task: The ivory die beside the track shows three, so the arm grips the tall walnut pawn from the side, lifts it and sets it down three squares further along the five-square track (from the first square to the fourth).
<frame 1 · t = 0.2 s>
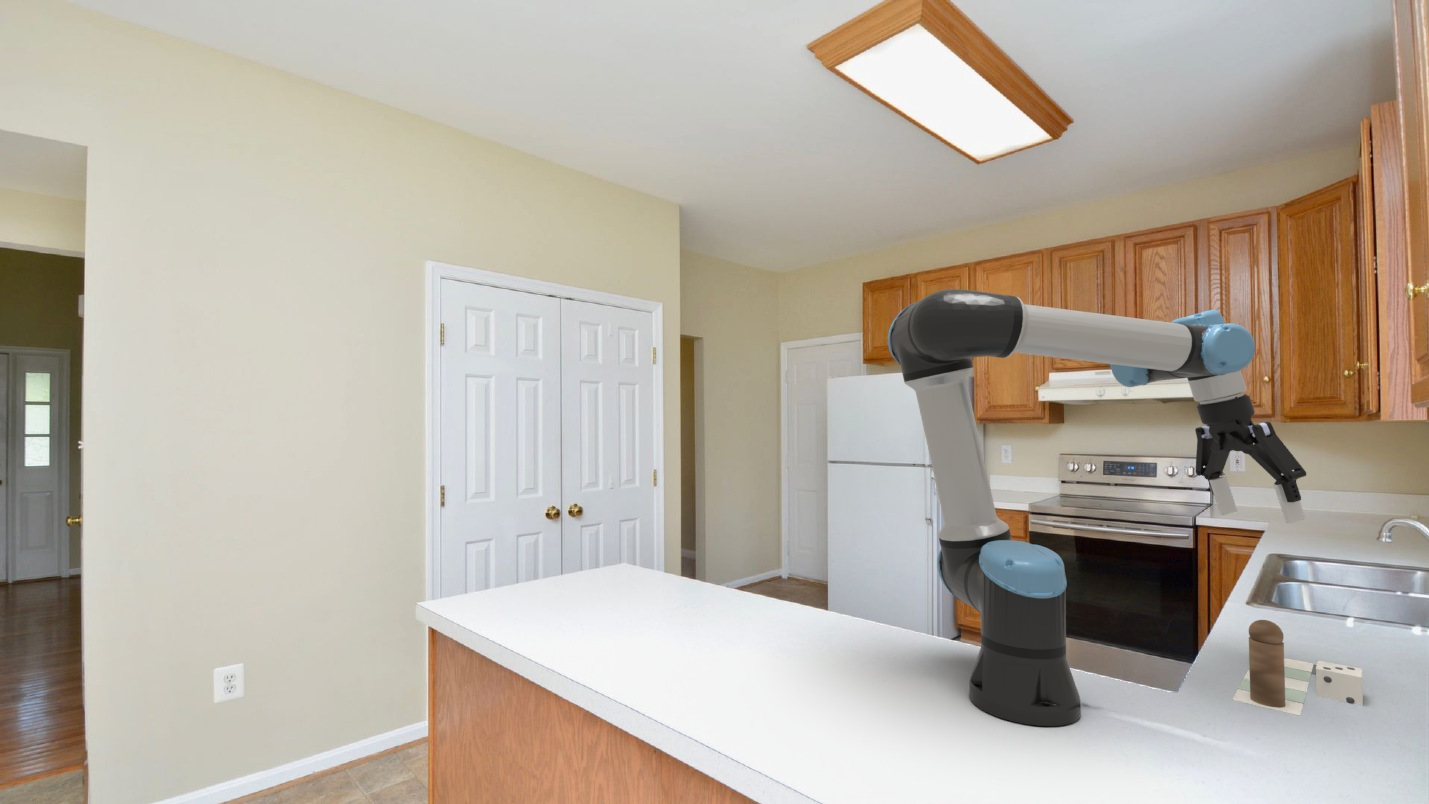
hand: (1260, 516, 113), 26 cm above the counter, tool tilted 15°, fingers open, 13 cm apart
pawn: (1267, 701, 97), point 1 cm above the counter, touching board
board: (1276, 685, 106), on the counter
die: (1340, 701, 100), on the counter
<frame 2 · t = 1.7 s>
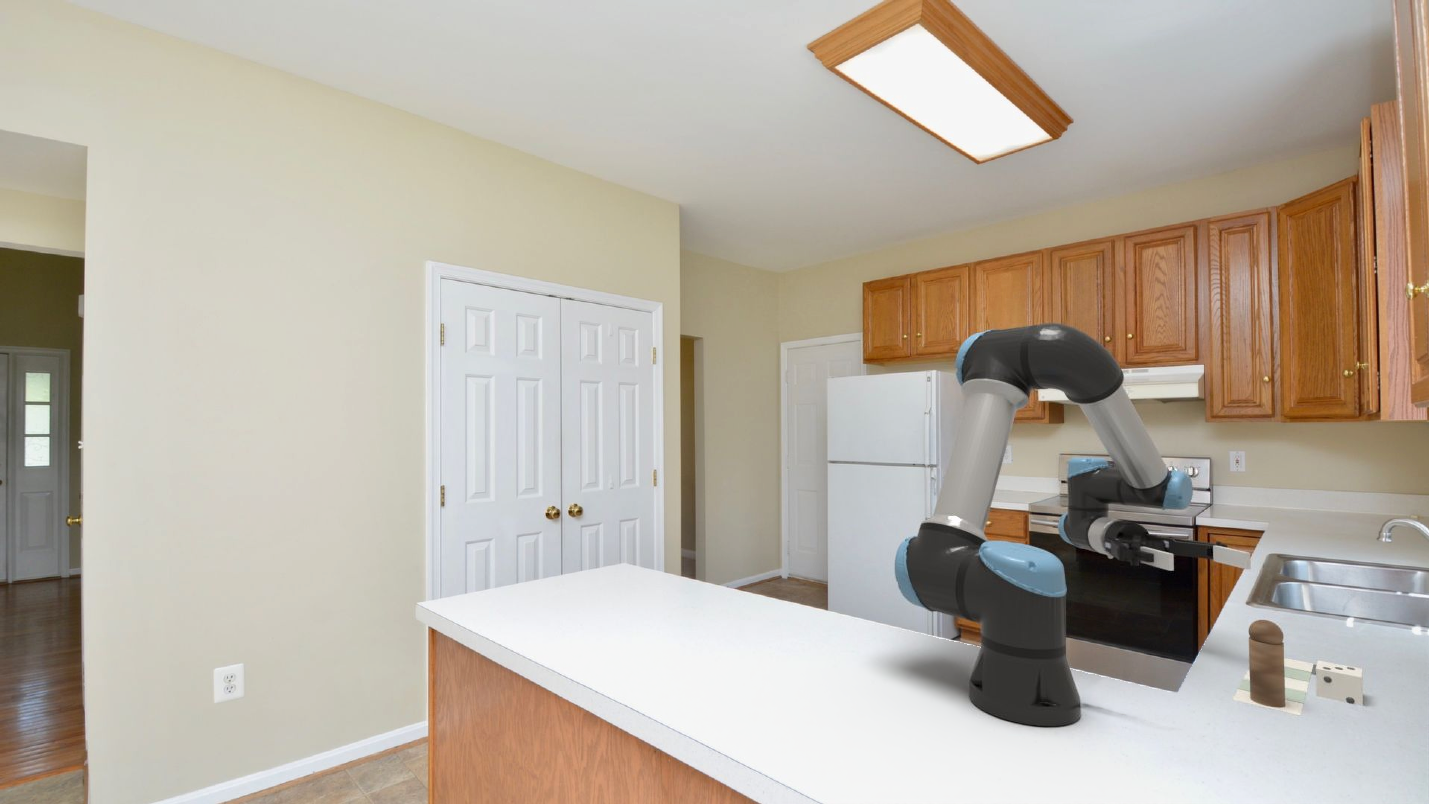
hand: (1210, 561, 108), 20 cm above the counter, tool horizontal, fingers open, 13 cm apart
nothing on the counter moved.
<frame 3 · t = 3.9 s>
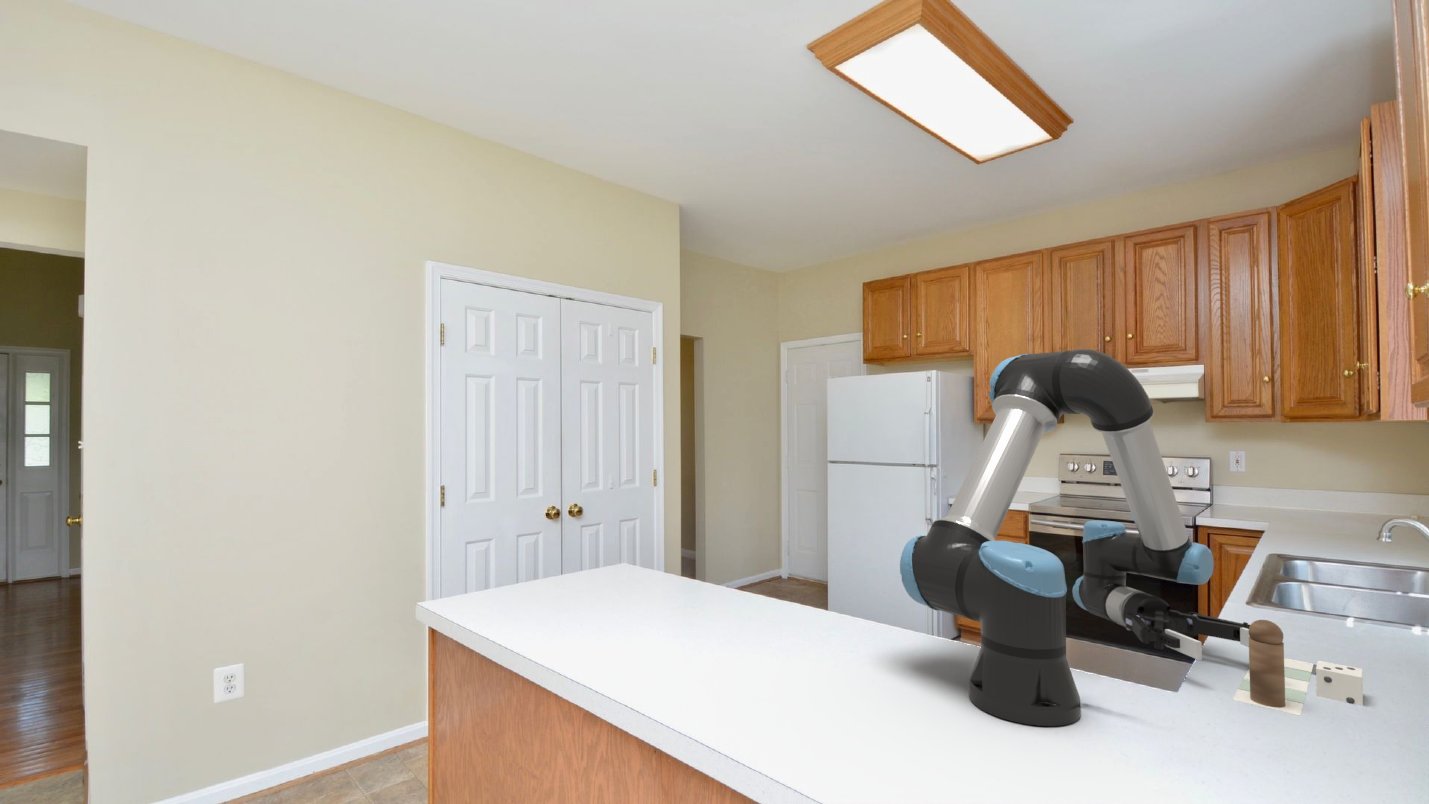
hand: (1239, 649, 103), 7 cm above the counter, tool horizontal, fingers open, 13 cm apart
nothing on the counter moved.
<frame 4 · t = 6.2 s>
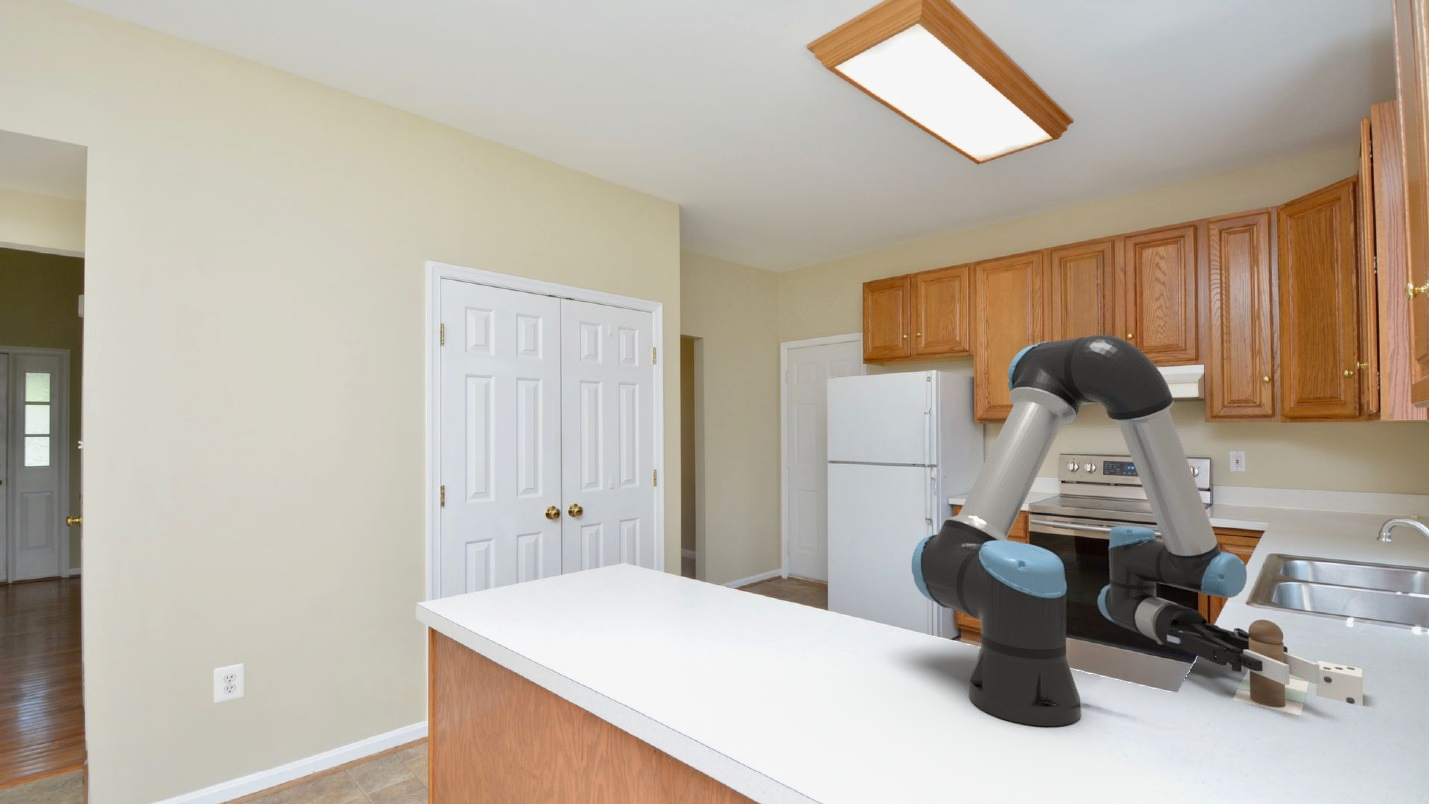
hand: (1301, 674, 92), 7 cm above the counter, tool horizontal, fingers closed on pawn, 4 cm apart
pawn: (1267, 701, 97), point 1 cm above the counter, touching board, gripper
everything else where it was.
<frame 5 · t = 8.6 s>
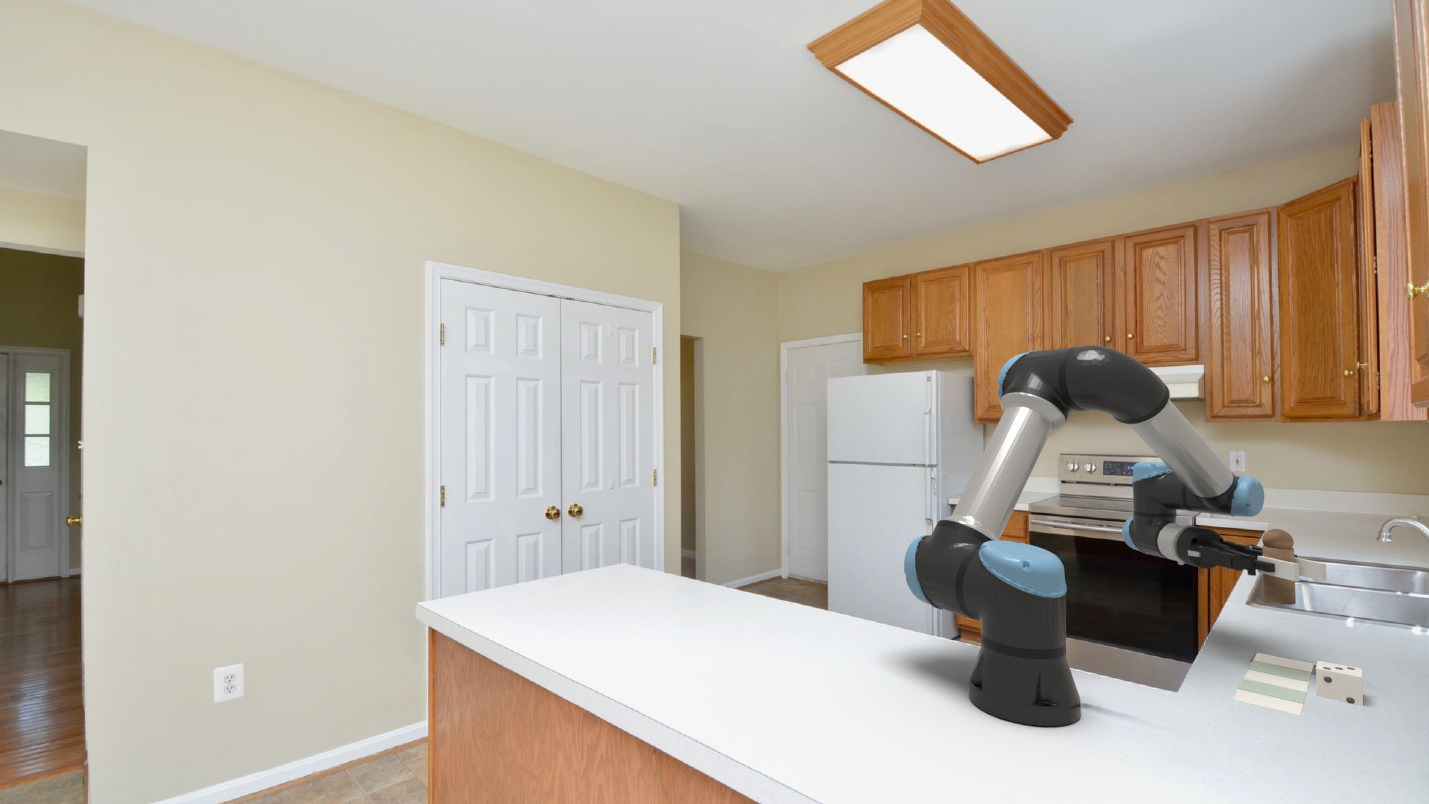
hand: (1310, 572, 104), 19 cm above the counter, tool horizontal, fingers closed on pawn, 4 cm apart
pawn: (1279, 601, 109), point 13 cm above the counter, touching gripper
everything else where it was.
when the fingers open (8 cm above the counter, at t = 10.8 s): pawn drops 1 cm, resting on board.
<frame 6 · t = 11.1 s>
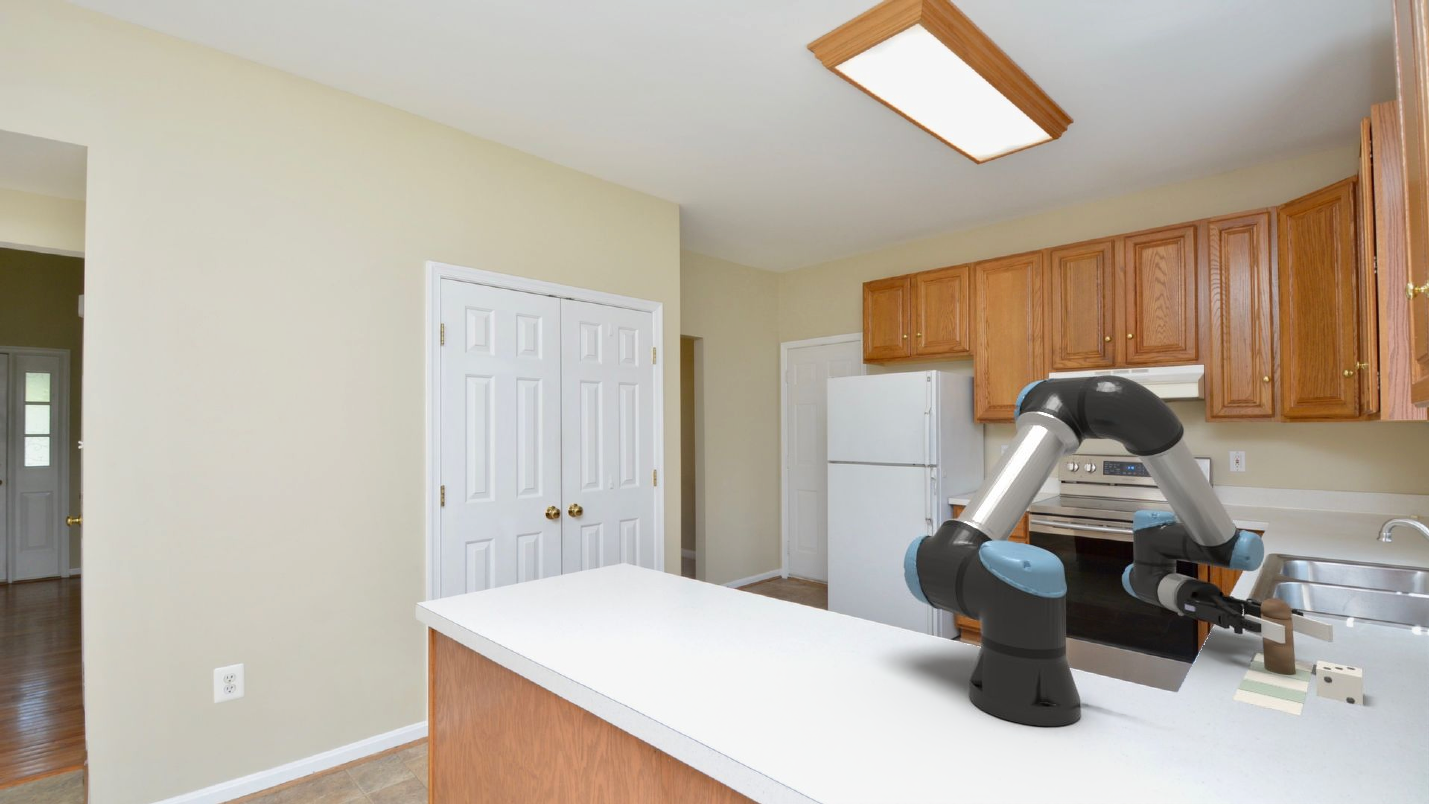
hand: (1306, 634, 105), 8 cm above the counter, tool horizontal, fingers open, 8 cm apart
pawn: (1279, 669, 110), point 1 cm above the counter, touching board
everything else where it was.
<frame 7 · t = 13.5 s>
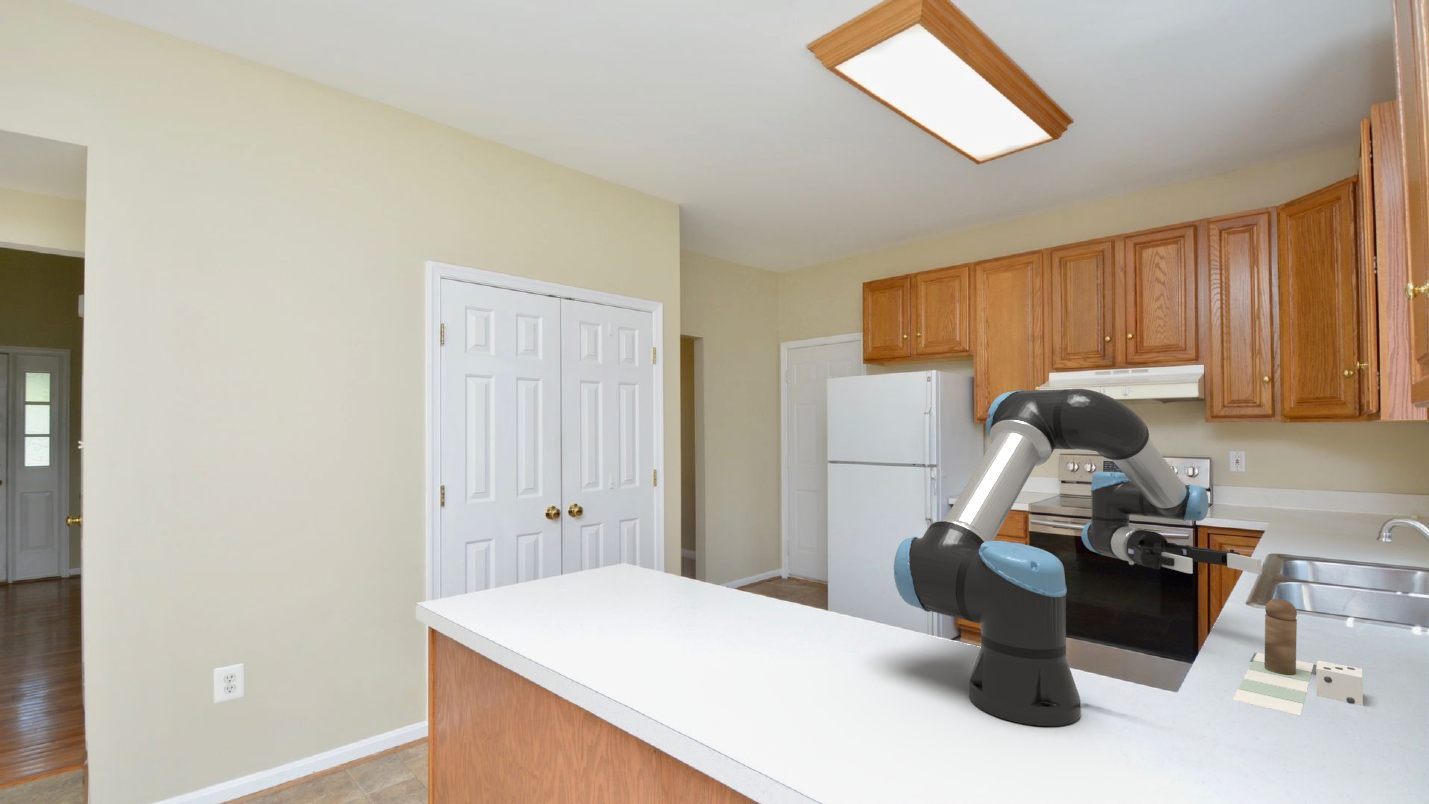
hand: (1225, 566, 120), 16 cm above the counter, tool horizontal, fingers open, 13 cm apart
nothing on the counter moved.
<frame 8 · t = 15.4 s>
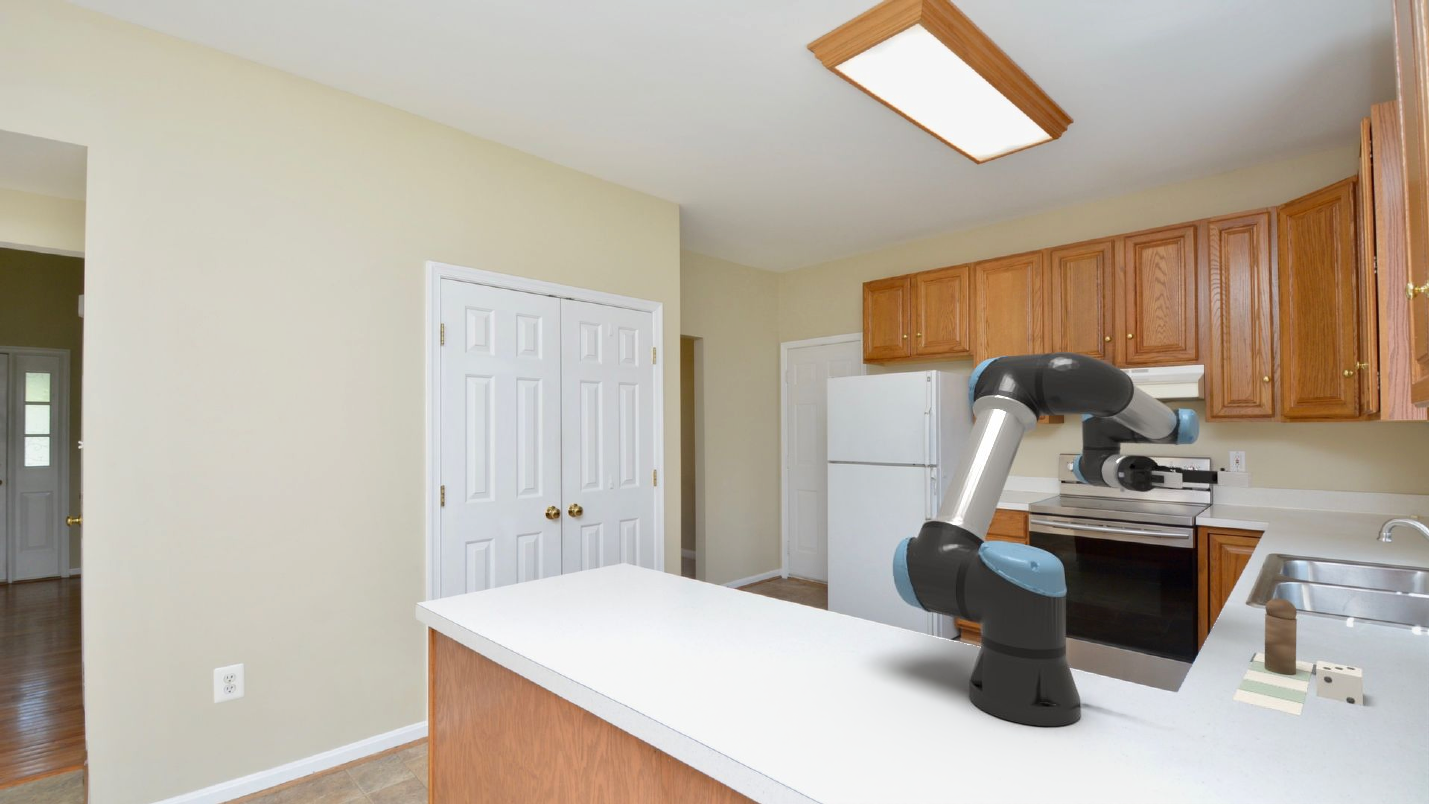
hand: (1215, 480, 119), 32 cm above the counter, tool horizontal, fingers open, 13 cm apart
nothing on the counter moved.
at the end: pawn inside the target area (0.1 cm from its centre), point 0.9 cm above the counter; pawn tilted 4°; the gripper is holding nothing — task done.
